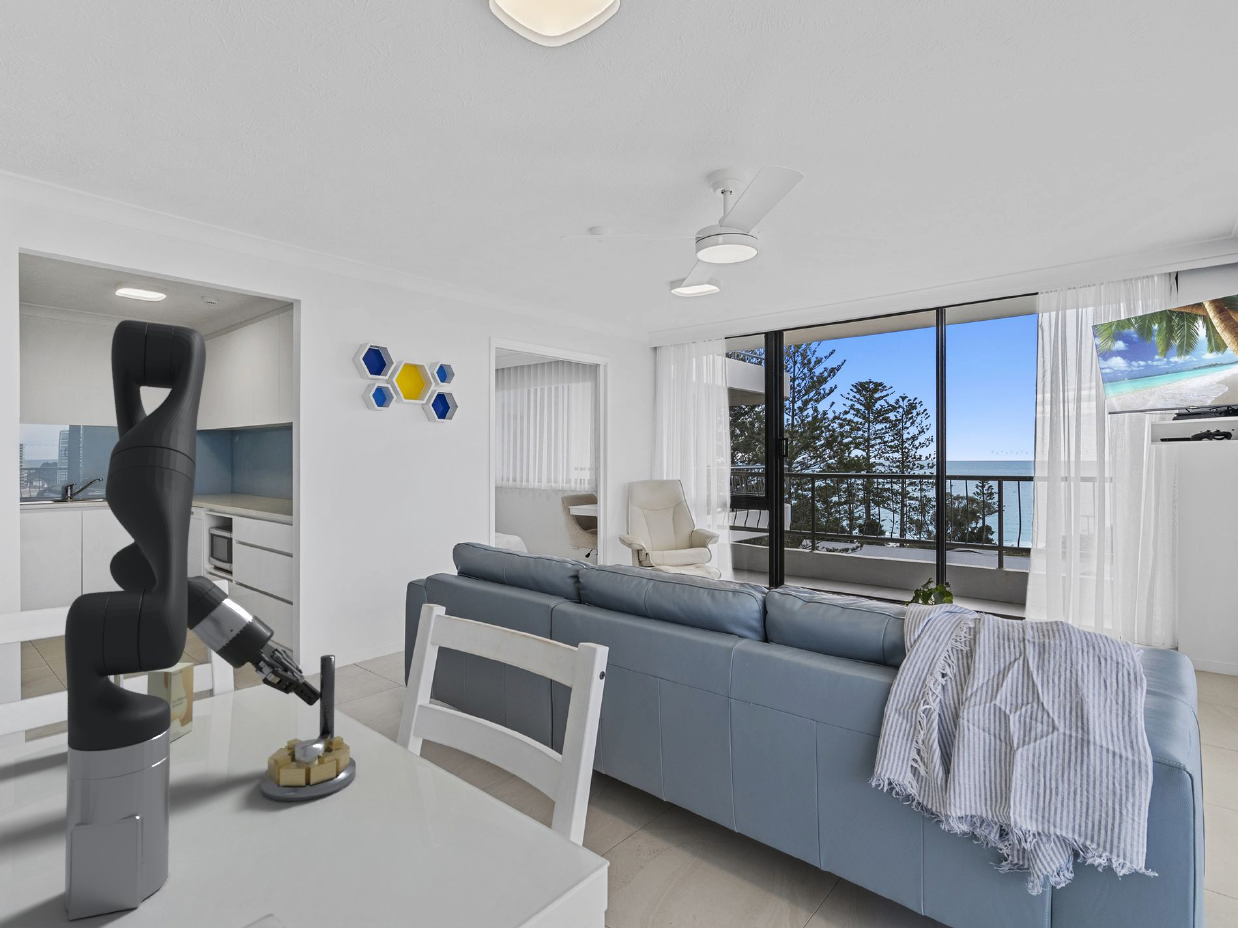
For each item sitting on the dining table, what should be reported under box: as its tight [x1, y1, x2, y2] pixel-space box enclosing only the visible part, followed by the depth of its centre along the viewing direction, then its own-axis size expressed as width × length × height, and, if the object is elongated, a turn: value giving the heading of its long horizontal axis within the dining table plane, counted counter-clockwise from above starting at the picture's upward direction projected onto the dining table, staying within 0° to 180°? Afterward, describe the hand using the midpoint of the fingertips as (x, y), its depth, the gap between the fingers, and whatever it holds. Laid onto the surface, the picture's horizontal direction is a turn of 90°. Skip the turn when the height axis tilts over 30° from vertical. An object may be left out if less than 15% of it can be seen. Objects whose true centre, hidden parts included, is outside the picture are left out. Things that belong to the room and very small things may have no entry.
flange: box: [260, 738, 357, 804], centre depth 100 cm, size 13×13×6 cm
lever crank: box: [267, 654, 351, 786], centre depth 103 cm, size 16×11×14 cm, turn 0°
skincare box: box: [146, 662, 195, 743], centre depth 117 cm, size 6×4×12 cm
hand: (316, 699), depth 110 cm, fingers closed
